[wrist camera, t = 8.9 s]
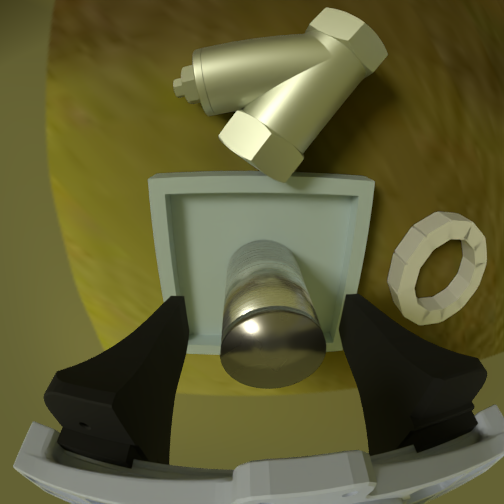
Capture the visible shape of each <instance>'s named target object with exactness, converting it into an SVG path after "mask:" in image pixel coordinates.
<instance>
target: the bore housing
mask: <svg viewBox="0 0 504 504" xmlns="http://www.w3.org/2000/svg"><path fill="white" fill-rule="evenodd" d="M413 226H414V228H413V227H411V228H410V230H409V231H408V233H407V234H406V236H405V237H404V238H403V240H402V241H401V243H400V244H399V245H398V247H397V248H396V249H395V252H396V253H393V258H392V262H391V266H390V271H389V275H388V279H387V280H388V281H387V282H388V285H389V288H390V292H391V295H392V298H393V302H394V303H395V305H396V306H397V307H398V309H399V310H400V312H401V313H402V315H403V316H404V317H406V318H407V319H409V320H411V321H413V322H414V323H416V324H418V325H427V324H434V323H440V322H442V321H444V320H445V319H447V318H448V317H450V316H451V315H453V314H454V313H456V312H457V311H459V310H460V309H461V307H462V308H463V306H464V305H465V304H466V303H467V301H468V300H469V299H470V297H471V296H472V295H473V293H474V292H475V291H476V289H477V288H478V287H477V286H479V284H480V281H481V278H482V275H483V272H484V269H485V266H486V263H487V262H486V261H487V253H486V240H485V237H484V235H483V234H482V233H481V232H480V230H479V229H478V228H477V226H476V225H475V224H474V223H473V222H472V221H470V220H468V219H467V218H465V217H463V216H462V215H460V214H458V213H449V212H439V211H438V212H435V213H433V214H432V215H430V216H428V217H426V218H425V219H423V220H421V221H420V222H418V223H416V224H414V225H413ZM450 239H460V240H461V244H462V251H463V258H462V261H461V265H460V268H459V271H458V274H457V275H456V276H455V278H454V279H453V280H452V282H451V283H450V284H449V286H448V287H447V288H446V289H444V290H443V291H441V292H440V293H438V294H436V295H435V296H433V297H426V298H417V297H416V294H415V289H414V288H415V284H416V281H417V277H418V274H419V270H420V268H421V266H422V265H423V264H424V262H425V261H426V260H427V258H428V257H429V255H430V254H431V253H432V251H433V250H434V249H436V248H437V247H439V246H440V245H442V244H444V243H445V242H447V241H448V240H450Z"/></svg>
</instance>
